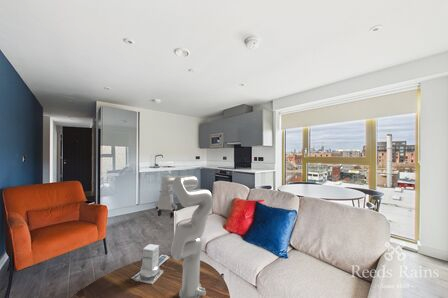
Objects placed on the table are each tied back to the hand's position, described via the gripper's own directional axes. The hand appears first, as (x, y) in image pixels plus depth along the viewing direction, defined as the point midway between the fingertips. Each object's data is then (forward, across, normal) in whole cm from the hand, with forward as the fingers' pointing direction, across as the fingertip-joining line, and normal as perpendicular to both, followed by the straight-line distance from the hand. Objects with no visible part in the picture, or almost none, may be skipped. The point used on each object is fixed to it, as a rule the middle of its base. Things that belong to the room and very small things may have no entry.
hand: (165, 216), depth 135 cm
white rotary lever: (+33, -1, -15) cm, 37 cm away
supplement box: (+27, -1, -15) cm, 31 cm away
